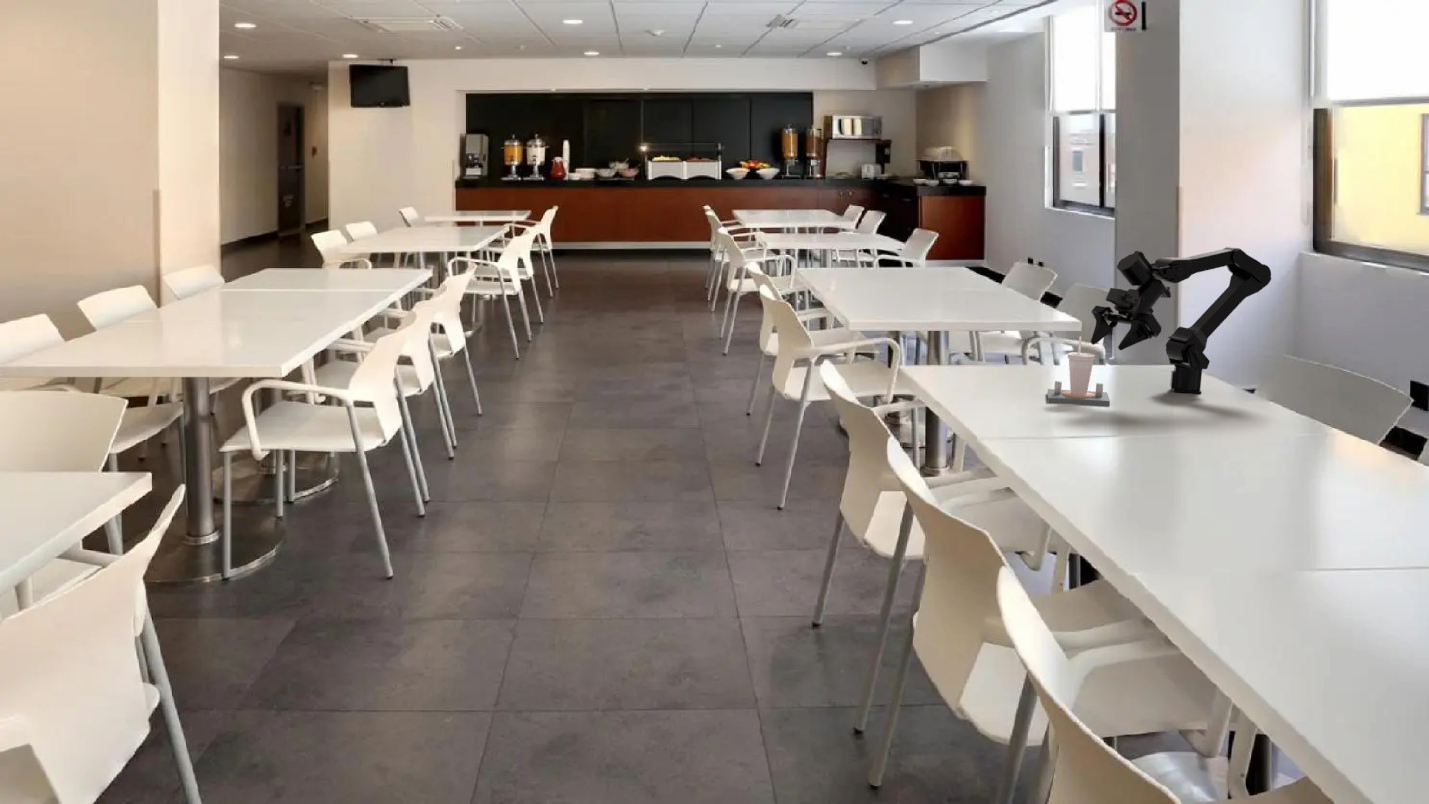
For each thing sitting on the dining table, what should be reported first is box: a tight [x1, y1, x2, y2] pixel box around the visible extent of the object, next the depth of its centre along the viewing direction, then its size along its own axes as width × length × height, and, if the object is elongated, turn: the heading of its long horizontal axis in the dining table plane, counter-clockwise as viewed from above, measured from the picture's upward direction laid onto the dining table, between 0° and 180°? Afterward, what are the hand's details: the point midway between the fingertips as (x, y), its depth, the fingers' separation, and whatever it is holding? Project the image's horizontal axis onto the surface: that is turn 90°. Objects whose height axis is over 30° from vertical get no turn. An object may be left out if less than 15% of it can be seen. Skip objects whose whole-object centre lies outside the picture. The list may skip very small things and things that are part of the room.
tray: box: [1046, 380, 1111, 407], centre depth 294 cm, size 14×11×4 cm
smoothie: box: [1067, 335, 1096, 395], centre depth 293 cm, size 6×6×14 cm
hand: (1105, 346), depth 296 cm, fingers open, 9 cm apart
